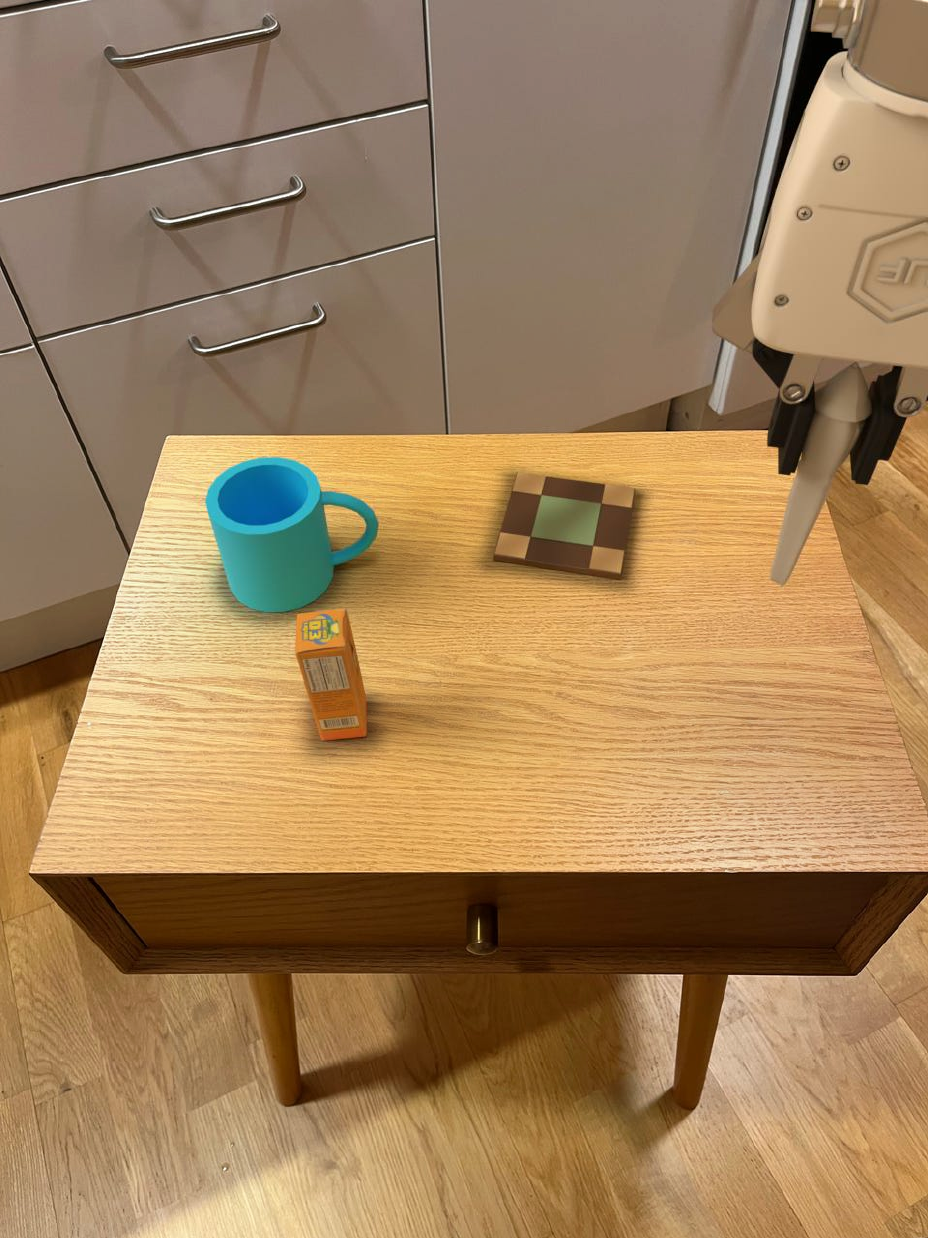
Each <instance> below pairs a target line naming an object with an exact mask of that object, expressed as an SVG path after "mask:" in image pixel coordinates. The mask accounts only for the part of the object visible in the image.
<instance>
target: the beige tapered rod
mask: <svg viewBox="0 0 928 1238" xmlns="http://www.w3.org/2000/svg"><path fill="white" fill-rule="evenodd" d="M868 390H869V387H868V383H867V381H866V378H865V375H864V373H863V369H862V368H861V366H860V364H859V362H857V361H853V363H851V364H849V365H847V366H846V367H844V368H842V369H841V370H839V371H838V372H837V373H836V374H834V375H833V376H832V377H830V379H828V381H826V382H825V384H824V385H822V386H820V387H818V389H816V390H815V414H814V417H813V420H812V423H811V426H810V429H809V432H808V435H807V438H806V441H805V444H804V447H803V450H802V453H801V456H800V460H799V463H798V466H797V469H796V474H795V477H794V479H793V482H792V484H791V487H790V490H789V493H788V495H787V500H786V505H785V510H784V515H783V518H782V522H781V527H780V531H779V535H778V540H777V545H776V549H775V552H774V557H773V561H772V565H771V568H770V573H769V580H770V581H772V582H774V583H776V584H778V585H780V586H781V587H784V586H785V585H786V584H787V582H788V580H789V579H790V577H791V575H792V574H793V571H794V569H795V567H796V565H797V563H798V560H799V559H800V556H801V554H802V552H803V550H804V547H805V545H806V542H808V538H809V537H810V534H811V532H812V530H813V528H814V526H815V524H816V522H817V519H818V518H819V515H820V513H821V511H822V508H823V507H824V505H825V503H826V501H827V497H828V496H829V493H830V490H831V487H832V483H833V482H834V481H833V480H834V478H835V476H836V474H837V472H838V470H839V469H840V468H841V467H842V466H843V464H844V463H845V461H846V460H847V459H848V457H849V456H850V452H851V451H852V449H853V447H854V446H855V444H856V442H857V440H858V438H859V436H860V434H861V432H862V430H863V427H864V425H865V419H866V418H867V417H868V416H869V415H871V413H872V403H871V400H870V398H869V395H868Z"/></svg>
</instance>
